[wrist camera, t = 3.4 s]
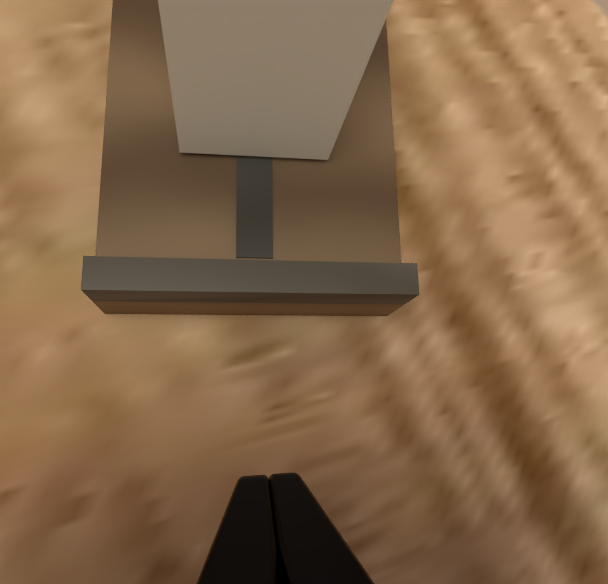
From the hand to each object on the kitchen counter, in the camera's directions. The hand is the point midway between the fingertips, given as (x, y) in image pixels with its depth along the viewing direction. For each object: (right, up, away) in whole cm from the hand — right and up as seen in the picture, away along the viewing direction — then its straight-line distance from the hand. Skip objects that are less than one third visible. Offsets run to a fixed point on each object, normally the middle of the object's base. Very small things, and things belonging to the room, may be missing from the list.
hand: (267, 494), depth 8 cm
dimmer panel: (-2, +12, +14) cm, 19 cm away
